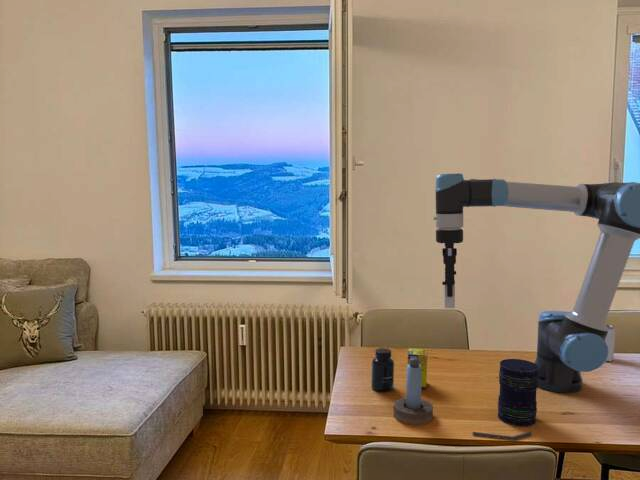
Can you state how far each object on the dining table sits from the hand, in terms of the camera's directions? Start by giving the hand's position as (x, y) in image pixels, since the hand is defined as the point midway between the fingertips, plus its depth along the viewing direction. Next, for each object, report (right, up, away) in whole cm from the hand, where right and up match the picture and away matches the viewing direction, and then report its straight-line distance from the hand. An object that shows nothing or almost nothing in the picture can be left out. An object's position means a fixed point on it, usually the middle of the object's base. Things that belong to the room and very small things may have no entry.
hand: (449, 302), depth 152 cm
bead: (-12, -30, -8) cm, 33 cm away
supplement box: (-7, -28, +14) cm, 32 cm away
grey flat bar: (+9, -31, -18) cm, 37 cm away
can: (+64, -25, +37) cm, 78 cm away
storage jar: (+16, -30, -9) cm, 36 cm away
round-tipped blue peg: (-12, -30, -8) cm, 33 cm away
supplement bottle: (-18, -28, +11) cm, 35 cm away
